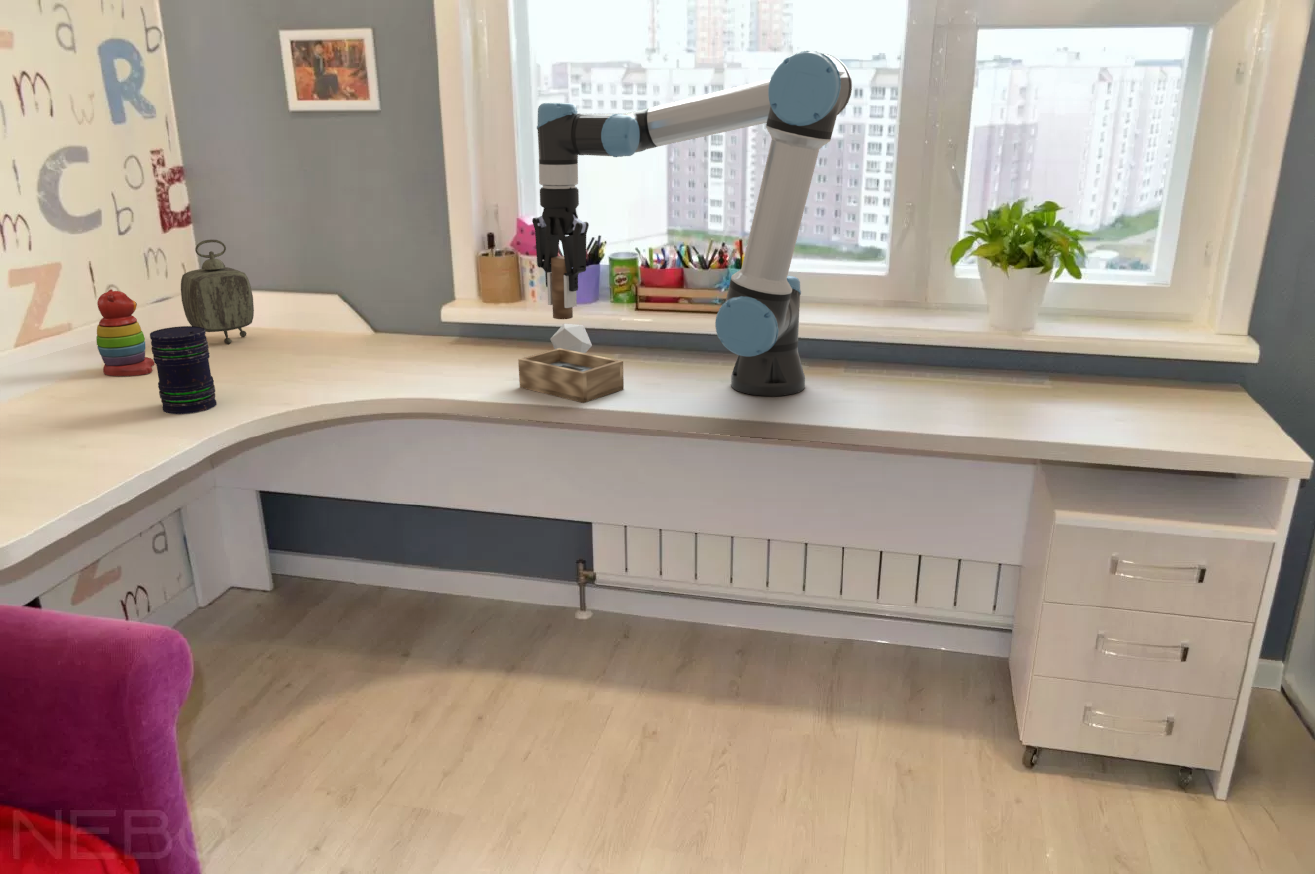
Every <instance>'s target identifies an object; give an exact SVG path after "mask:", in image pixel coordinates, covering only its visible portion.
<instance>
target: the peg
mask: <svg viewBox="0 0 1315 874" xmlns="http://www.w3.org/2000/svg"><path fill="white" fill-rule="evenodd" d="M551 271H552V302H553V305H552V318H553V319H554V320H569V319H572V318H573V317H574V316H573V314H574V313H573V311H574V310H573V308H574V307H570V308H565V307H564V273H567V272H566V266H565V260H564V255H562V256H561V255H560V256H556V257H552V258H551Z"/></svg>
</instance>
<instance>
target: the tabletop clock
mask: <svg viewBox="0 0 1315 874" xmlns="http://www.w3.org/2000/svg"><path fill="white" fill-rule="evenodd" d="M207 243H217V244H220V245H222V247H223V250H222V251H221V252H217V253H214V251H212V250H211V251H209V252H208V254H201V253H200V252H199V251H198V250H199V248H200V246H201V245H203V244H207ZM194 249H195V253H196V254H197V255H198V256H199V257H201V258H205V259H206V260H204V262H203V263H202V264H201V265H202V266H201V268H200V269H194V270H189V271H188V272H185V273H184V274H182V276H181V279H180V297H181V302H182V303H181V304H182V308H183V311H184V315H185V317H186V320H187V323H189V326H197V327H203V328H205V332H206V333H214V332H215V333H216V332H219V333H221V332H223V334H224V336H225V338H224V339H223V342H224V344H226V345H230V344H231V343H232V339H231V338H230V337H229V334H228V332H229V331H233V330H239V336H240V338H246V336H247V332H246V330H243V328H246V327H247V326H249V325H251V324H252V323H253V321H254V314H255V307H254V296H253V291H252V286H251V283H250V281H249V277H248V276H247V274H246V272H243V271H241V270H237V269H235V268H231V267H228V266H226V265H225V264H224V262H223V261H222V260H220V259H219V258H218V257H220V256H222V255H224V254H225V253H226V251H227V247H226V244H225V243H224V242H222V241H221V240H218V239H206V240H202V241H200V242H198V244H196V246H195V248H194Z"/></svg>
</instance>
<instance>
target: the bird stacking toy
mask: <svg viewBox="0 0 1315 874" xmlns="http://www.w3.org/2000/svg"><path fill="white" fill-rule="evenodd" d="M96 304H97V309H98V311H99V313H100V315H101V316H102V318H101V319H99V322H98V324H97V327H96V346H97V351H98V353H99V355H100V358H101V359H102V362H103V363H104V365H103V369H102V372H103V374H104V375H106V376H110V377H111V376H112V377H136V376H145V375H148V374H151V373H152V372H153V368H152V367H153V366H155V363H154V360H153V358H152V357H147V356H146V348H147V347H146V341H145V340H146V337H145V335H144V332H143V330H142V328H141V325H140V323H139V321H138V318H136V317H135V316H134V315H133V314H134V312H135V311H136V310H137V306H138V304H137V301H136V300H134V299H131V298H130V297H129V296H128V295H127V294H126V293H124V292H123V291H120V290H113V289H111V288H110V289H109V290H108V291H106V292H103V294H101V295H100V296H99V297H98V299H97V303H96Z"/></svg>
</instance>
